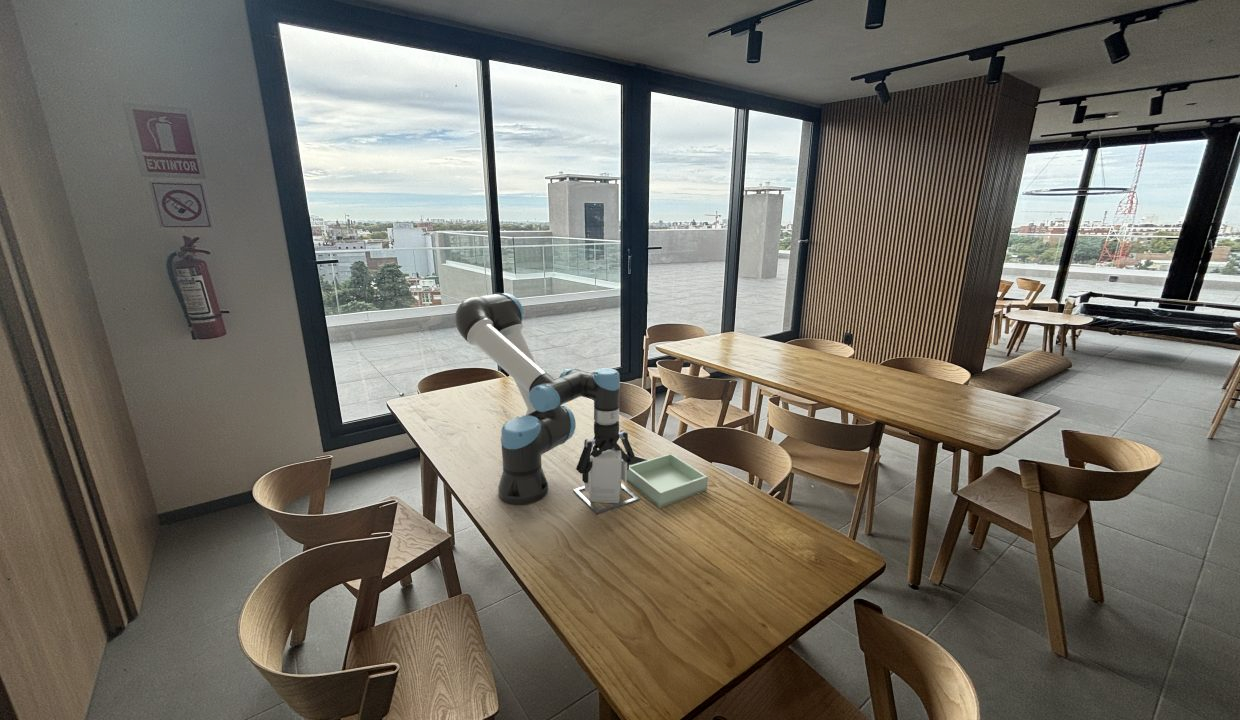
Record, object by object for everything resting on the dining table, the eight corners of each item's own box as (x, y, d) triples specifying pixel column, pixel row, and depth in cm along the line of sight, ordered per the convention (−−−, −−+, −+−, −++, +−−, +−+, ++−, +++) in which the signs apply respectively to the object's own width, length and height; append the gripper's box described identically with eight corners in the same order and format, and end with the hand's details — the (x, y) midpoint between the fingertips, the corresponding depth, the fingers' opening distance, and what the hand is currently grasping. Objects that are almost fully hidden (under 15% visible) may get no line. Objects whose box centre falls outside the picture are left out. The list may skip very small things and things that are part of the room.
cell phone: (621, 453, 180) (621, 451, 180) (660, 464, 173) (660, 462, 172) (610, 461, 174) (610, 460, 174) (650, 473, 166) (650, 472, 166)
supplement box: (622, 488, 156) (622, 445, 152) (619, 504, 147) (620, 459, 143) (593, 486, 157) (593, 444, 153) (589, 502, 148) (589, 457, 144)
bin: (660, 508, 146) (660, 493, 144) (625, 480, 161) (626, 466, 159) (706, 490, 156) (707, 476, 154) (670, 466, 171) (671, 453, 169)
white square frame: (597, 514, 142) (597, 513, 142) (573, 490, 154) (573, 489, 154) (639, 499, 150) (639, 498, 150) (613, 478, 162) (613, 476, 162)
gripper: (576, 434, 136) (576, 502, 142) (647, 416, 148) (645, 480, 154) (563, 424, 142) (565, 490, 148) (633, 408, 154) (632, 470, 160)
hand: (606, 485), depth 151 cm, fingers closed on supplement box, 12 cm apart
